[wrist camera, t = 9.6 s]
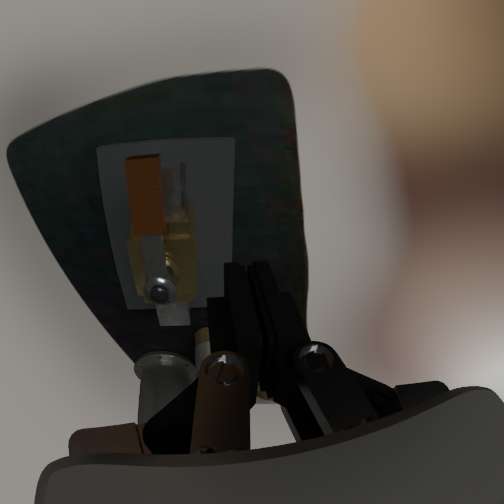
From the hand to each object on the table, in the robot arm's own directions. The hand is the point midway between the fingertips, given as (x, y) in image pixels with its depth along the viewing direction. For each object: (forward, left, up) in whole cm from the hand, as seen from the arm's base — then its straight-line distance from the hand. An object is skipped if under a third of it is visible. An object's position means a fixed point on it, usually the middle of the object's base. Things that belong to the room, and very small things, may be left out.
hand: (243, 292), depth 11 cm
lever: (-4, +6, -13) cm, 15 cm away
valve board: (-10, +6, -24) cm, 27 cm away
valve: (-10, +6, -23) cm, 25 cm away
